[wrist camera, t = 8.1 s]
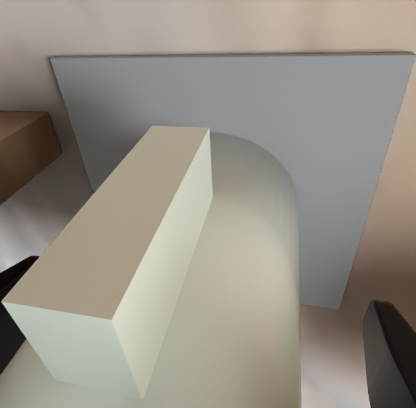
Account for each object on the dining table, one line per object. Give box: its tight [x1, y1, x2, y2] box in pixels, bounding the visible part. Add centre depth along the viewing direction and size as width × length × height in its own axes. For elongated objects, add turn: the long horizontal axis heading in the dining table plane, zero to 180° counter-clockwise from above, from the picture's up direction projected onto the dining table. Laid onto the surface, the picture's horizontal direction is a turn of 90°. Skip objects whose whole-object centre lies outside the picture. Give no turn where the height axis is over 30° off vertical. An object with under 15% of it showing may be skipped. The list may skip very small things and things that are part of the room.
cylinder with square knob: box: [0, 126, 301, 408], centre depth 8 cm, size 7×6×9 cm
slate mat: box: [50, 52, 416, 310], centre depth 12 cm, size 10×10×1 cm
